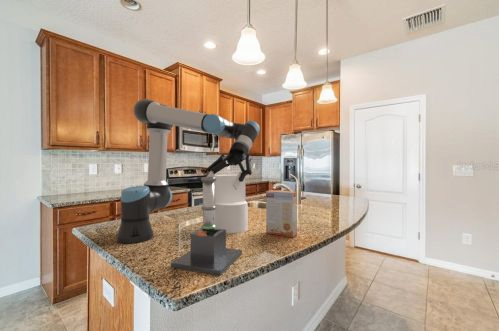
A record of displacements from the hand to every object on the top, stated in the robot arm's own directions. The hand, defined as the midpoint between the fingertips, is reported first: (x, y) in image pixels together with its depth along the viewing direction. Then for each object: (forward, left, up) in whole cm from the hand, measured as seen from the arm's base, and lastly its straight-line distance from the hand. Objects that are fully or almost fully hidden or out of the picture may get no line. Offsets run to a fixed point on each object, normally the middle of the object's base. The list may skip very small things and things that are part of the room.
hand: (219, 186), depth 86 cm
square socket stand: (-2, -5, -25) cm, 26 cm away
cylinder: (-11, +35, -26) cm, 45 cm away
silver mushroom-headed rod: (-2, -5, -18) cm, 19 cm away
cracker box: (+16, +34, -26) cm, 46 cm away
